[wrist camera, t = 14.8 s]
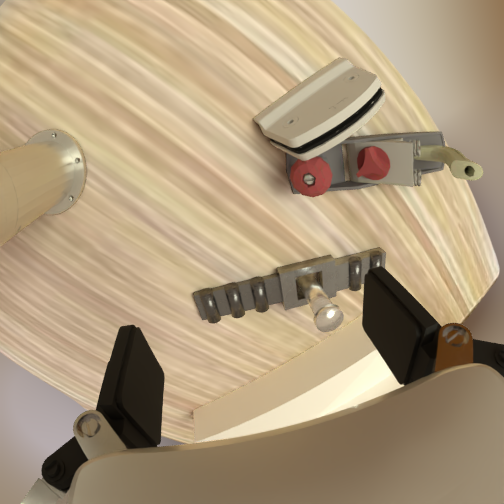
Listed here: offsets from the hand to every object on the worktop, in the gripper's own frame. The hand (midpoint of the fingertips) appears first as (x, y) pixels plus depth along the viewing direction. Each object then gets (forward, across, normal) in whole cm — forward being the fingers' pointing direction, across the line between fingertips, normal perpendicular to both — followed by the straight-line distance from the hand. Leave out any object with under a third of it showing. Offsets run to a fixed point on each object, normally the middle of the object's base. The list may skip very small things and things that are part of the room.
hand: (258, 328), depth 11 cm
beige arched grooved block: (+31, -15, -8) cm, 35 cm away
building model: (+31, -7, +49) cm, 58 cm away
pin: (+30, -10, +19) cm, 37 cm away
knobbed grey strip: (+30, -8, +19) cm, 37 cm away
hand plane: (+31, -24, +1) cm, 39 cm away
